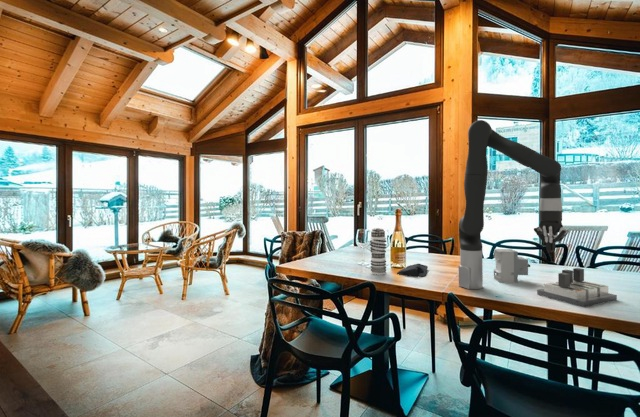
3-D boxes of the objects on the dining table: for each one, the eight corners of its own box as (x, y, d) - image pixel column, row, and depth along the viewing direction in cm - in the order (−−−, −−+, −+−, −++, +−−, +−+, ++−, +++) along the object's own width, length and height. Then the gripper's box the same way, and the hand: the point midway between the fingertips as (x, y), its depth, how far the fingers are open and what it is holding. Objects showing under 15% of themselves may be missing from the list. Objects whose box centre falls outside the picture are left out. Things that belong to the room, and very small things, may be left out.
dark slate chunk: (432, 270, 181) (432, 262, 181) (424, 278, 162) (424, 269, 162) (405, 267, 189) (405, 260, 189) (395, 275, 170) (395, 267, 170)
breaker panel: (583, 307, 115) (583, 279, 114) (537, 294, 131) (537, 270, 130) (616, 300, 122) (616, 273, 121) (569, 288, 138) (568, 265, 137)
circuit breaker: (532, 283, 148) (531, 251, 148) (499, 282, 151) (498, 251, 151) (525, 279, 155) (524, 249, 155) (493, 278, 158) (493, 248, 158)
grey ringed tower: (390, 273, 174) (389, 228, 174) (378, 275, 169) (377, 229, 168) (378, 270, 182) (378, 227, 181) (366, 272, 176) (366, 228, 176)
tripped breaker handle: (564, 287, 122) (564, 274, 122) (558, 285, 124) (558, 273, 124) (569, 286, 123) (569, 273, 123) (563, 285, 125) (563, 272, 125)
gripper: (528, 209, 133) (528, 250, 133) (561, 210, 120) (561, 254, 120) (540, 209, 135) (540, 248, 135) (574, 209, 123) (574, 253, 123)
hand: (550, 251), depth 128 cm, fingers closed
